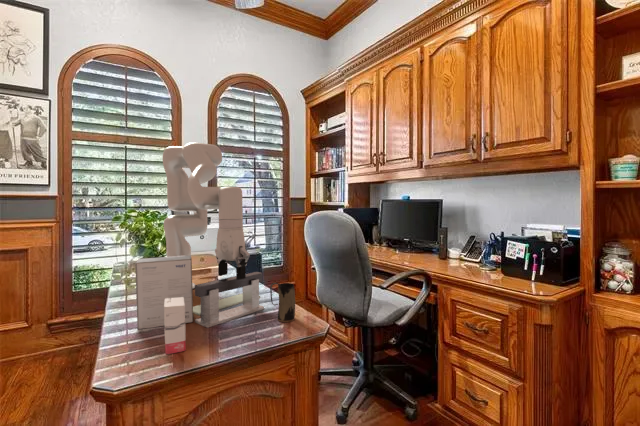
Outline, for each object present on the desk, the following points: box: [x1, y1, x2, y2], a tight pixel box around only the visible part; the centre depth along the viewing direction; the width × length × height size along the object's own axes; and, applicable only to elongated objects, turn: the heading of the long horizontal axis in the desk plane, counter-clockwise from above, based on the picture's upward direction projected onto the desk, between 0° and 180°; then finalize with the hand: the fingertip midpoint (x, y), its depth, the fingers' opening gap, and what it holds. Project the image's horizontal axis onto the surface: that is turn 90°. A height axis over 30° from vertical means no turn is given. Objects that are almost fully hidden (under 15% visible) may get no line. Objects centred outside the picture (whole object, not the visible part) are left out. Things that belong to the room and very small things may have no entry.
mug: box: [269, 282, 296, 323], centre depth 103 cm, size 8×6×12 cm
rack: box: [194, 279, 265, 329], centre depth 107 cm, size 7×22×11 cm, turn 141°
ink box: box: [163, 297, 187, 355], centre depth 85 cm, size 9×5×12 cm, turn 24°
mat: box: [193, 292, 261, 316], centre depth 120 cm, size 8×26×1 cm, turn 141°
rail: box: [194, 271, 263, 298], centre depth 107 cm, size 3×24×3 cm, turn 141°
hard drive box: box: [134, 254, 194, 330], centre depth 101 cm, size 16×8×20 cm, turn 111°
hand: (231, 276), depth 107 cm, fingers open, 9 cm apart
